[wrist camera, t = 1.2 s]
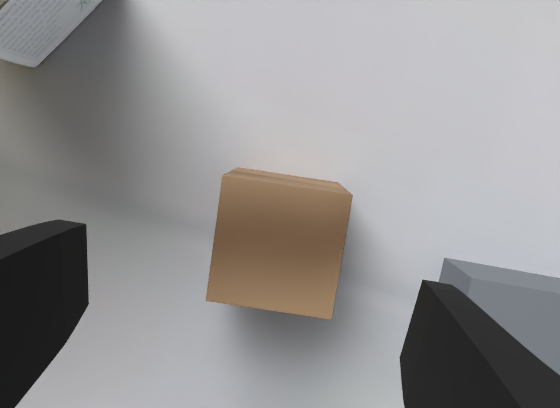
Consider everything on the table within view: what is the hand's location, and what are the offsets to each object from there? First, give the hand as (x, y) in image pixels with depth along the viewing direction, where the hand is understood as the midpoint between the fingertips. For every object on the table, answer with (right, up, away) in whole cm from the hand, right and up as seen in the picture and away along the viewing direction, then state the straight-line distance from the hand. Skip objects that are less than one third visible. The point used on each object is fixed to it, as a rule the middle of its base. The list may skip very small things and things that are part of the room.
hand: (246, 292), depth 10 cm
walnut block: (+1, +1, +11) cm, 11 cm away
